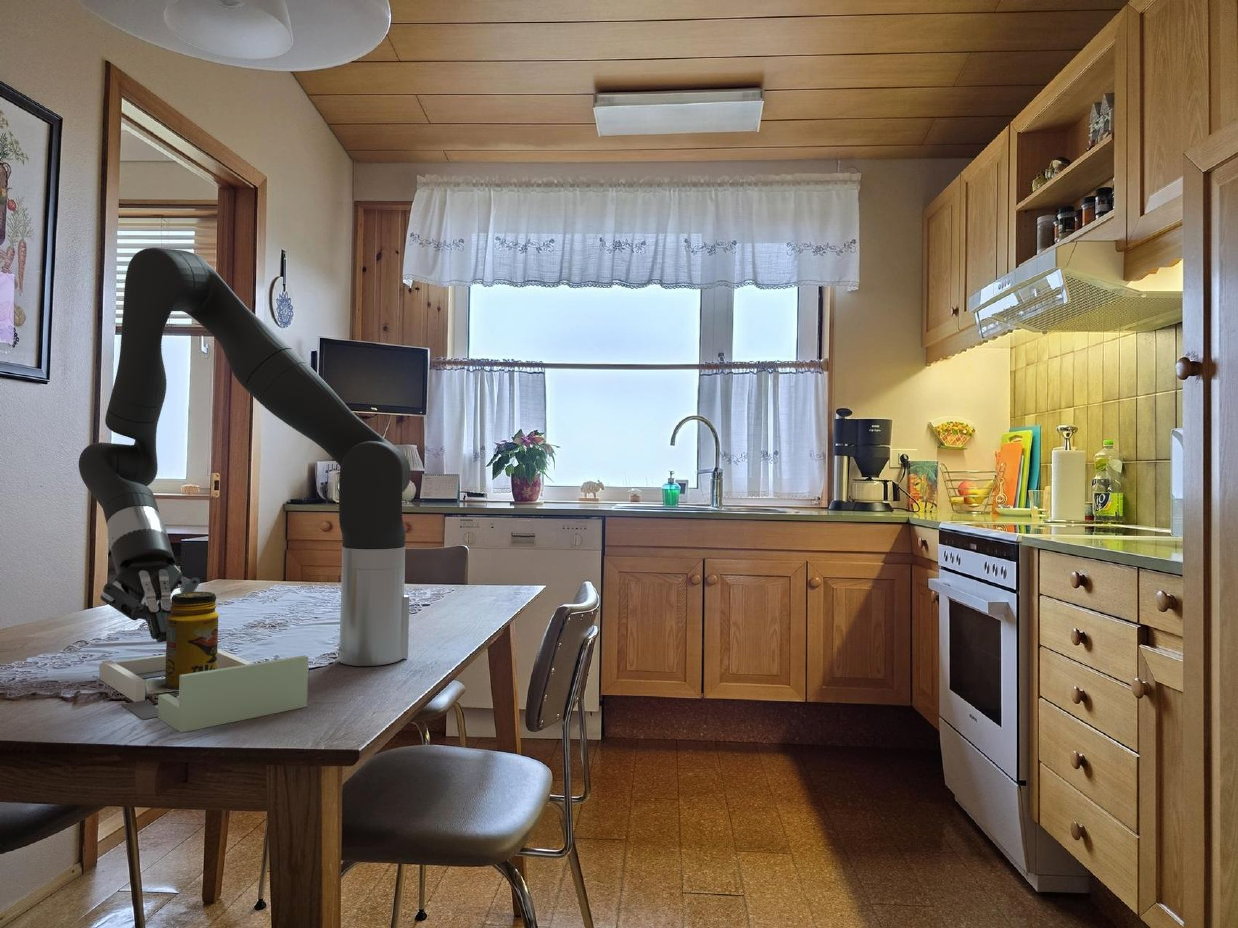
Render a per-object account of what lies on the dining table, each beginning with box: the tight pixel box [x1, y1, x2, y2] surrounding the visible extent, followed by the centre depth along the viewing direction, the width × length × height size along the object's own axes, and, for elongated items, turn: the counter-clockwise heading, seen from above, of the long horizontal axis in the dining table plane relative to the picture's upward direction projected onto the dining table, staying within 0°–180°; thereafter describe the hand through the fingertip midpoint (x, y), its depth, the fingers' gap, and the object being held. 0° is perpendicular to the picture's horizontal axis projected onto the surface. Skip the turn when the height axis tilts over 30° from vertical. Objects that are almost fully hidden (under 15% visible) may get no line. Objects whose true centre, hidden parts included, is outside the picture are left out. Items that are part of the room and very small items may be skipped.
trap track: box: [98, 648, 309, 733], centre depth 99 cm, size 16×31×6 cm, turn 47°
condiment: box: [144, 590, 219, 695], centre depth 103 cm, size 7×8×12 cm
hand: (165, 638), depth 108 cm, fingers closed
